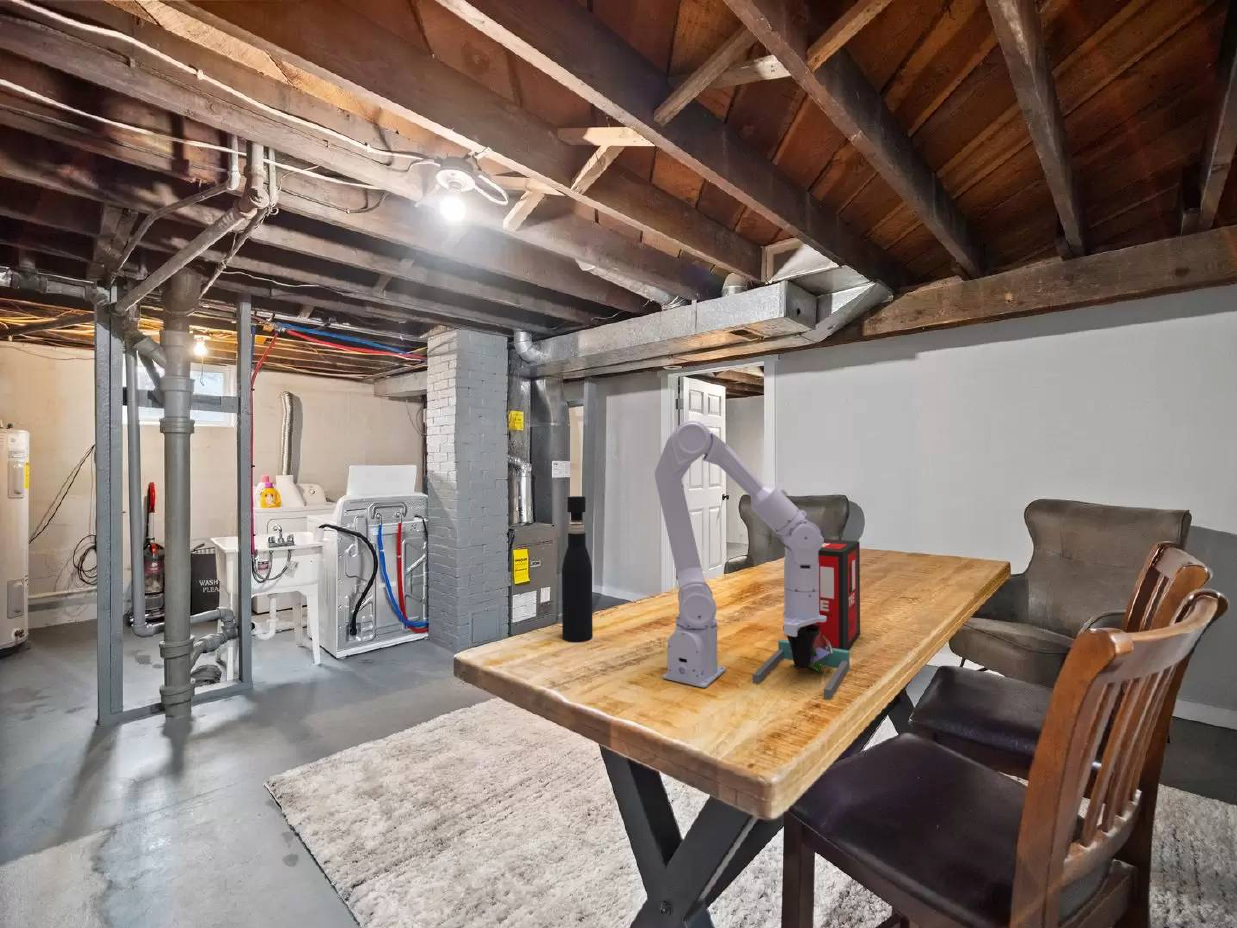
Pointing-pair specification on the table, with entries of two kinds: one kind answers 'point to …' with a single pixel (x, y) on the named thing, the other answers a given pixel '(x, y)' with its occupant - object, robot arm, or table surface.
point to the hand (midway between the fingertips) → (801, 667)
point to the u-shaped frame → (836, 660)
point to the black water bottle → (576, 579)
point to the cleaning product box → (839, 592)
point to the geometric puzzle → (818, 653)
